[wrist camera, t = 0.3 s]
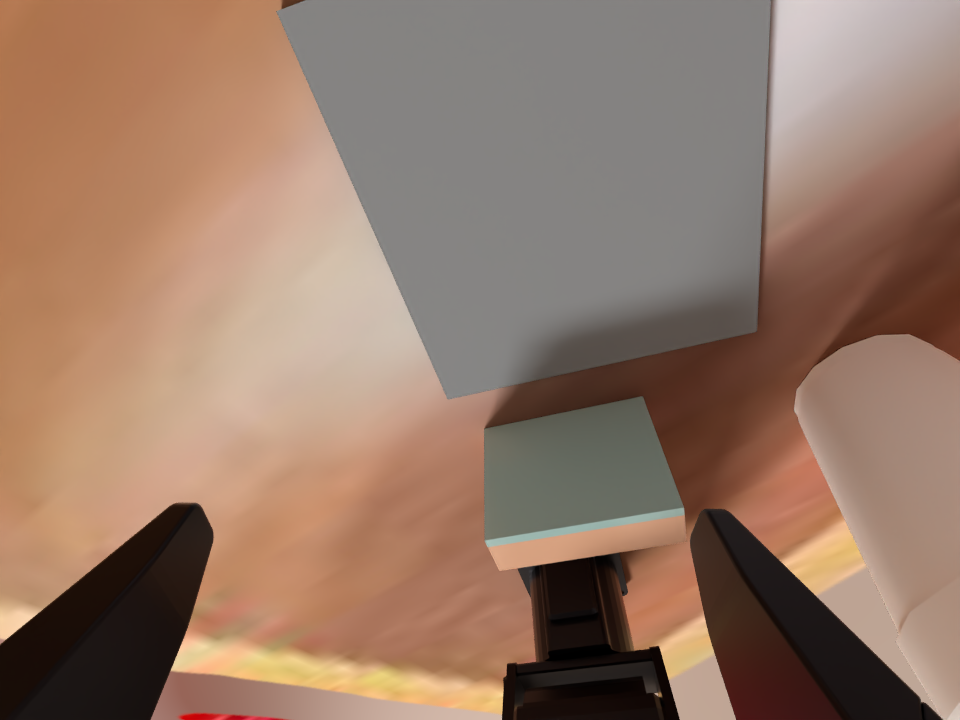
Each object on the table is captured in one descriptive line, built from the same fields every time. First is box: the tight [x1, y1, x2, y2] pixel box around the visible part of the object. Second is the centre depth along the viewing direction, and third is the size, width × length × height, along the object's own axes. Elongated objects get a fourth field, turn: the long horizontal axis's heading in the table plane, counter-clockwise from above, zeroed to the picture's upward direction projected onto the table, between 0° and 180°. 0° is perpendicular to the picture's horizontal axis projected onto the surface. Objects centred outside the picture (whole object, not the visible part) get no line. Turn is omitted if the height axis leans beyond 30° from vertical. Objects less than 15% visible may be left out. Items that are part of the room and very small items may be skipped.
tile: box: [484, 396, 687, 571], centre depth 24 cm, size 2×8×6 cm, turn 106°
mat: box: [276, 0, 771, 399], centre depth 19 cm, size 16×14×1 cm
